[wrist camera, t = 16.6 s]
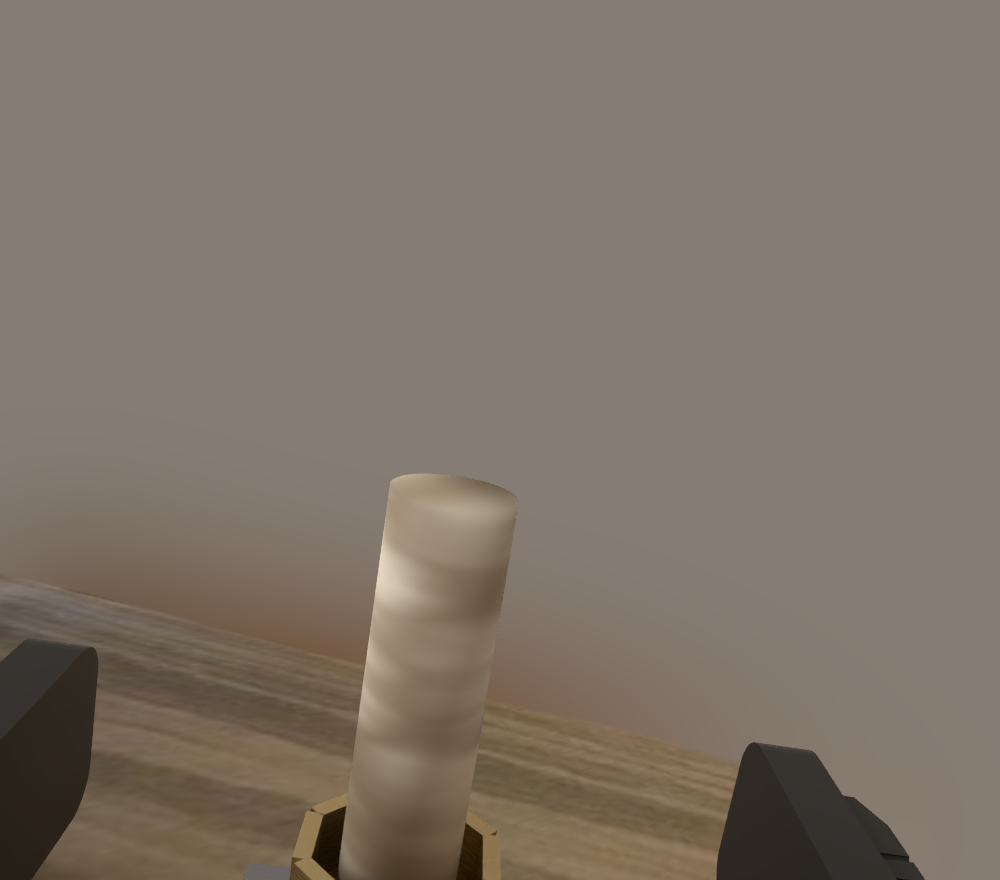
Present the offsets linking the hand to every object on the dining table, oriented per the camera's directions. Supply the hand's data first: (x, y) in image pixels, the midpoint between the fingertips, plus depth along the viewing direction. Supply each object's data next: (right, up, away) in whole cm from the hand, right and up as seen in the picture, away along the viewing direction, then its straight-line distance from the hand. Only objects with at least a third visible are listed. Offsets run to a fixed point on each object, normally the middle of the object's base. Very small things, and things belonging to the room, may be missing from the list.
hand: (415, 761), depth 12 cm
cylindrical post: (-3, -13, +21) cm, 25 cm away
